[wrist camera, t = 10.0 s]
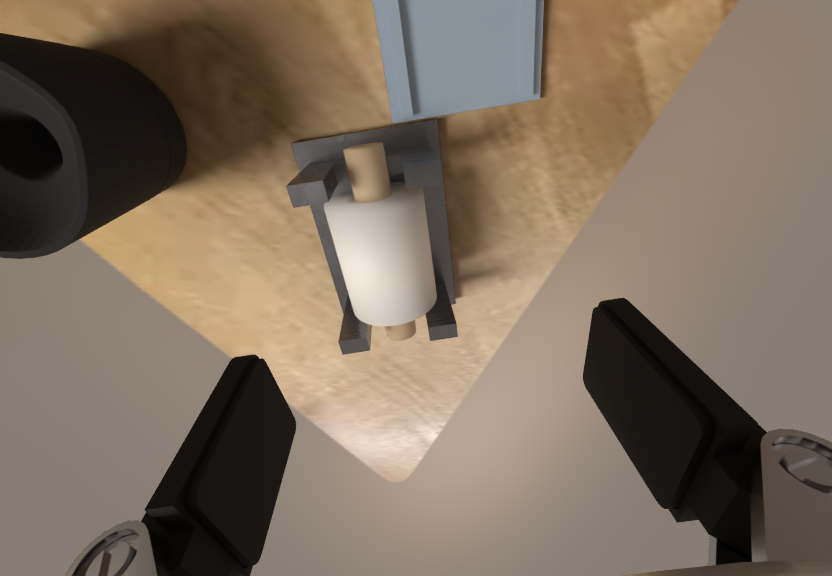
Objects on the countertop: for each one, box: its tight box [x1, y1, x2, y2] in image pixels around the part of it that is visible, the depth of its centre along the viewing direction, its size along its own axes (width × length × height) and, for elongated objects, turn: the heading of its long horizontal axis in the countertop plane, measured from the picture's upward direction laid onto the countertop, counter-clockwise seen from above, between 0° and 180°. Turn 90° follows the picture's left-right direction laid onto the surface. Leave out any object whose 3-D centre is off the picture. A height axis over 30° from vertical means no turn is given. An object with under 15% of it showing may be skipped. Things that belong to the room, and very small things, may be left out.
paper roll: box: [324, 143, 437, 341], centre depth 24 cm, size 14×6×6 cm, turn 8°
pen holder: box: [0, 33, 186, 259], centre depth 18 cm, size 9×9×10 cm
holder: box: [286, 119, 458, 355], centre depth 25 cm, size 15×10×7 cm, turn 8°
